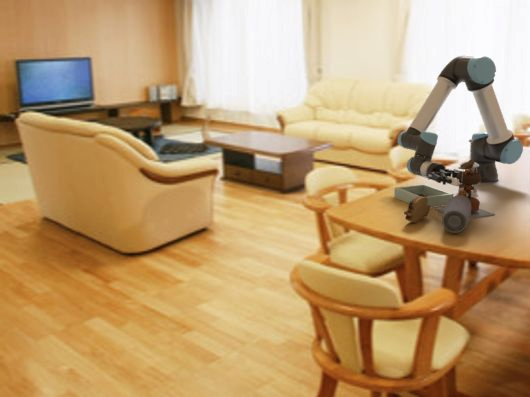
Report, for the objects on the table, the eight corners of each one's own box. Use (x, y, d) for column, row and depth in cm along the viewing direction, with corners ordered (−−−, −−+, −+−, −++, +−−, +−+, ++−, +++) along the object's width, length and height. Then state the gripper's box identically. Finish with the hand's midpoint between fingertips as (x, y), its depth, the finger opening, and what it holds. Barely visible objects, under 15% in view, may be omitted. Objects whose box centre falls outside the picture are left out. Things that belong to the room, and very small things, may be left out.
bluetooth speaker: (446, 217, 226) (447, 192, 224) (471, 219, 223) (473, 194, 220) (439, 235, 206) (441, 207, 203) (467, 237, 202) (469, 210, 200)
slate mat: (467, 205, 242) (467, 204, 242) (494, 215, 227) (494, 213, 227) (435, 209, 237) (435, 208, 236) (461, 220, 222) (461, 219, 222)
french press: (452, 195, 258) (455, 139, 252) (463, 190, 266) (466, 136, 260) (473, 199, 251) (477, 141, 245) (484, 193, 260) (488, 138, 253)
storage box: (423, 193, 262) (424, 183, 261) (452, 204, 244) (453, 194, 243) (394, 197, 257) (394, 187, 256) (421, 208, 239) (422, 198, 238)
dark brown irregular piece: (475, 214, 222) (476, 163, 218) (446, 211, 229) (446, 161, 224) (485, 205, 234) (487, 156, 230) (458, 203, 241) (459, 155, 236)
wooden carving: (420, 215, 230) (421, 191, 227) (431, 217, 227) (432, 192, 224) (401, 226, 217) (401, 200, 215) (412, 228, 215) (413, 202, 212)
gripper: (454, 176, 252) (491, 187, 232) (411, 182, 245) (444, 194, 225) (455, 159, 251) (492, 169, 230) (411, 164, 243) (445, 175, 223)
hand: (468, 181), depth 227 cm, fingers closed on dark brown irregular piece, 9 cm apart
